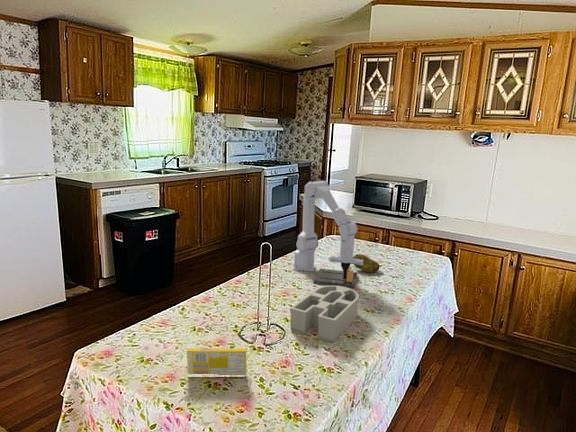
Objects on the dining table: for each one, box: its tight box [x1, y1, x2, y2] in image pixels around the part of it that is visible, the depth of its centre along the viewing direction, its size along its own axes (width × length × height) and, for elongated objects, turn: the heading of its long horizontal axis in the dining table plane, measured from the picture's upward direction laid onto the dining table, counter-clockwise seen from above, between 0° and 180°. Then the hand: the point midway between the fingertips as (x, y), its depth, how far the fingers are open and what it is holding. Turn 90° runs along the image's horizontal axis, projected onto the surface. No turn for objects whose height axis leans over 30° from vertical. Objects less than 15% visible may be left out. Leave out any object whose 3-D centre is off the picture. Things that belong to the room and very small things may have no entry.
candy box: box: [186, 347, 247, 376], centre depth 115 cm, size 16×2×8 cm, turn 92°
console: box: [312, 268, 358, 289], centre depth 191 cm, size 18×16×2 cm
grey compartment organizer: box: [289, 285, 360, 344], centre depth 149 cm, size 17×28×9 cm, turn 150°
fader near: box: [346, 269, 354, 282], centre depth 184 cm, size 2×4×5 cm, turn 165°
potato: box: [353, 253, 380, 273], centre depth 202 cm, size 8×13×8 cm, turn 61°
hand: (345, 278), depth 185 cm, fingers closed
